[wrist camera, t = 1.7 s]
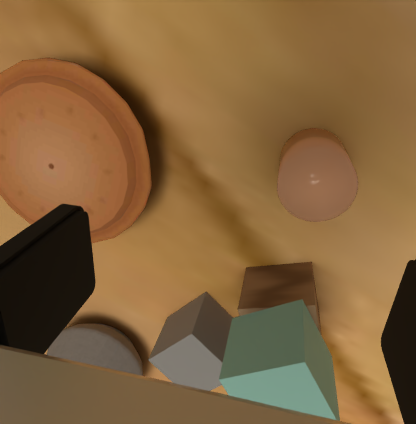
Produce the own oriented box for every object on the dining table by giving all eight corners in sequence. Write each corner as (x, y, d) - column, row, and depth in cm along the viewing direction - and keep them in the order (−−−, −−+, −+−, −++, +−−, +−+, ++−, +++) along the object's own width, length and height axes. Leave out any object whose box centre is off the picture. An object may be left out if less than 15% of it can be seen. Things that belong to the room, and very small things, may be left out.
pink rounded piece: (348, 127, 27) (362, 148, 21) (342, 189, 29) (353, 222, 23) (280, 129, 28) (277, 149, 22) (279, 188, 30) (276, 220, 24)
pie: (74, 246, 37) (45, 273, 33) (-24, 113, 33) (-73, 123, 29) (197, 188, 32) (181, 212, 27) (97, 17, 27) (59, 12, 23)
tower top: (302, 298, 27) (304, 362, 21) (331, 356, 28) (340, 427, 23) (232, 318, 29) (218, 379, 24) (263, 370, 31) (257, 438, 25)
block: (206, 291, 36) (191, 333, 31) (245, 329, 37) (237, 377, 32) (167, 316, 39) (148, 360, 33) (205, 351, 40) (191, 399, 34)
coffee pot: (165, 341, 40) (103, 486, 27) (133, 395, 46) (68, 539, 32) (-2, 253, 40) (-148, 357, 27) (-15, 318, 45) (-141, 432, 32)
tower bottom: (311, 261, 32) (315, 305, 27) (319, 314, 34) (324, 363, 29) (246, 267, 34) (237, 309, 28) (257, 317, 36) (251, 364, 31)
